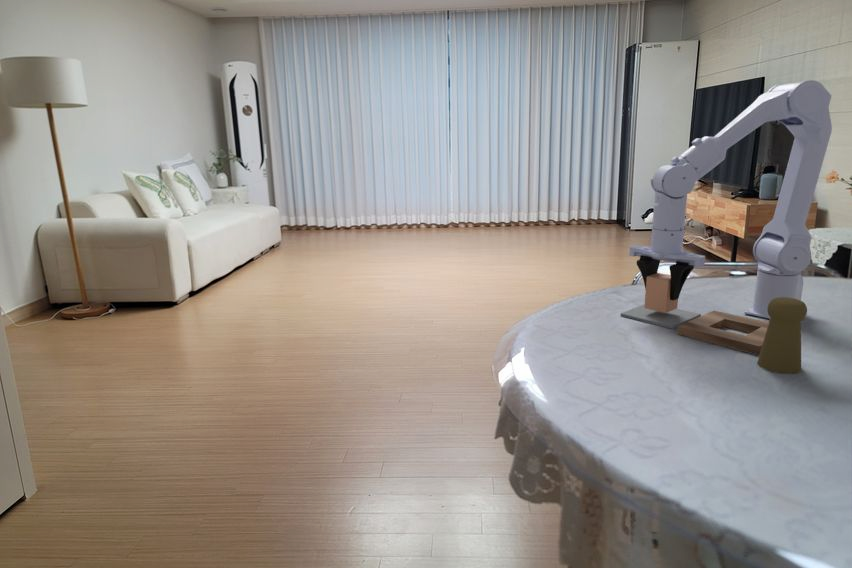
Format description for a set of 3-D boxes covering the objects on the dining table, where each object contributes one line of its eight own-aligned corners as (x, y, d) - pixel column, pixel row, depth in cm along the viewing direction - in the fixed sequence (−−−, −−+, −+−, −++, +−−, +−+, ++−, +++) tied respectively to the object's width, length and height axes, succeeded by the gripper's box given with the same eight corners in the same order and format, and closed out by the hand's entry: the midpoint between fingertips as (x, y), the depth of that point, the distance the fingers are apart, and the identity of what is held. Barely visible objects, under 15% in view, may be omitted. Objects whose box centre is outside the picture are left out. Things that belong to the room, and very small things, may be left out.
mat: (649, 304, 126) (649, 302, 126) (700, 316, 118) (700, 314, 118) (620, 315, 119) (620, 313, 119) (672, 328, 111) (672, 326, 111)
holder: (713, 317, 117) (713, 310, 117) (791, 335, 107) (792, 327, 106) (677, 333, 108) (678, 326, 108) (758, 354, 98) (759, 346, 97)
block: (656, 303, 121) (658, 272, 119) (677, 308, 118) (680, 276, 116) (644, 308, 118) (646, 276, 117) (665, 313, 115) (668, 280, 113)
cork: (808, 374, 90) (819, 305, 87) (764, 372, 91) (773, 303, 88) (792, 359, 96) (802, 294, 93) (751, 357, 97) (760, 292, 94)
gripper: (622, 226, 117) (618, 293, 120) (694, 236, 106) (687, 308, 110) (642, 222, 121) (637, 286, 125) (713, 231, 110) (705, 300, 114)
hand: (662, 296), depth 117 cm, fingers closed on block, 4 cm apart
